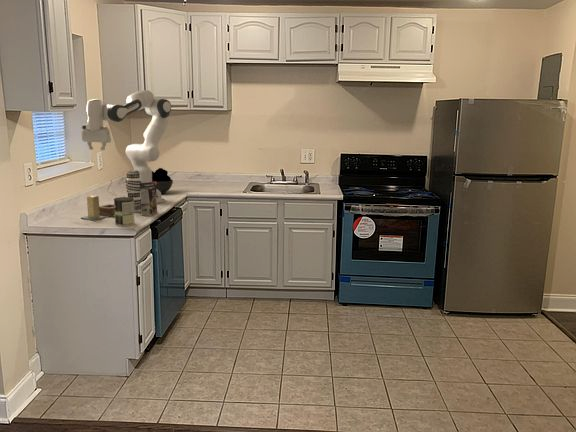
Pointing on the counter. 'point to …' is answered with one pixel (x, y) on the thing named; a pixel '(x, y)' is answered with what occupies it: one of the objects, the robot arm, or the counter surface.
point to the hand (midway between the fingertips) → (97, 149)
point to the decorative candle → (134, 188)
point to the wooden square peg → (93, 206)
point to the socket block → (107, 210)
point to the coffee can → (124, 211)
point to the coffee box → (148, 201)
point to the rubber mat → (93, 218)
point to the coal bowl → (161, 180)
